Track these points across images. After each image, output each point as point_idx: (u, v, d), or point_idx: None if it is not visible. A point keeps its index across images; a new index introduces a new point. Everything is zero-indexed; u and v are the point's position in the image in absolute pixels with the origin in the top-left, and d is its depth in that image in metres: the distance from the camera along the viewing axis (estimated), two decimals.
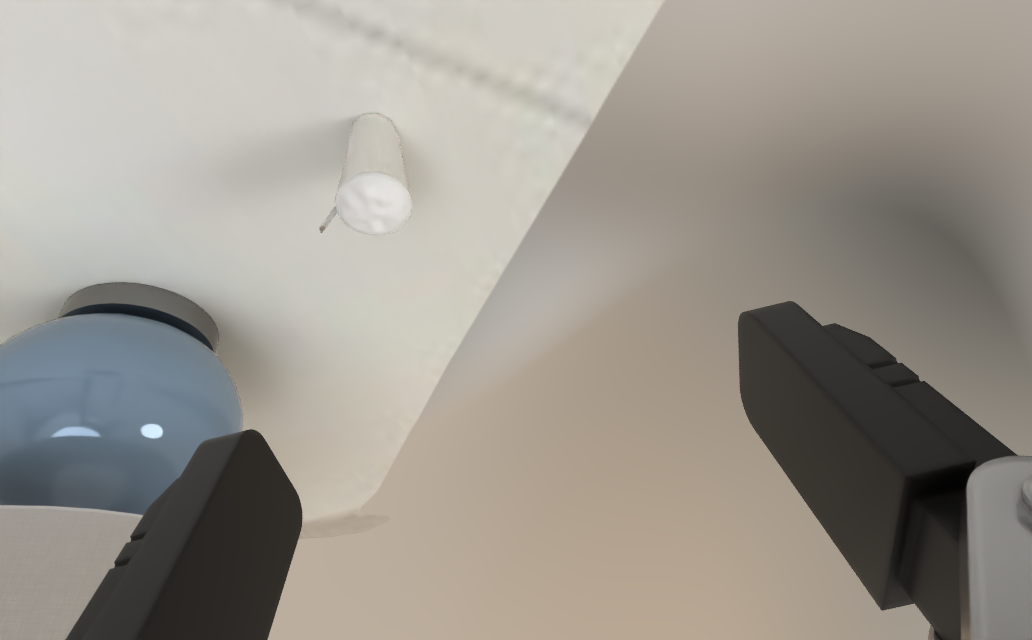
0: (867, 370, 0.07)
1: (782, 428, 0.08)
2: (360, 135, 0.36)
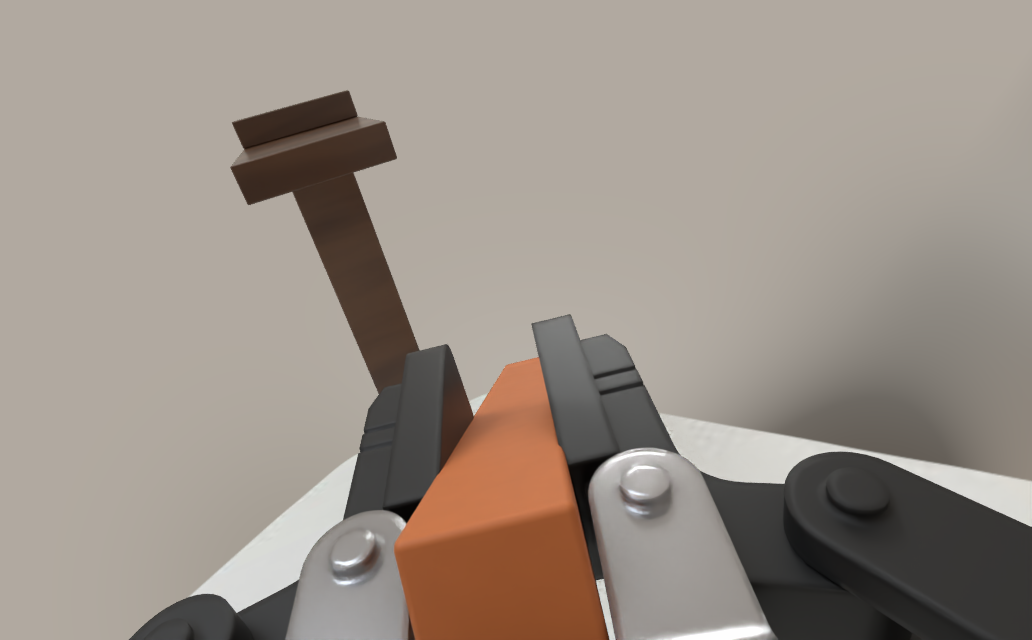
0: (588, 376, 0.08)
1: None
2: None
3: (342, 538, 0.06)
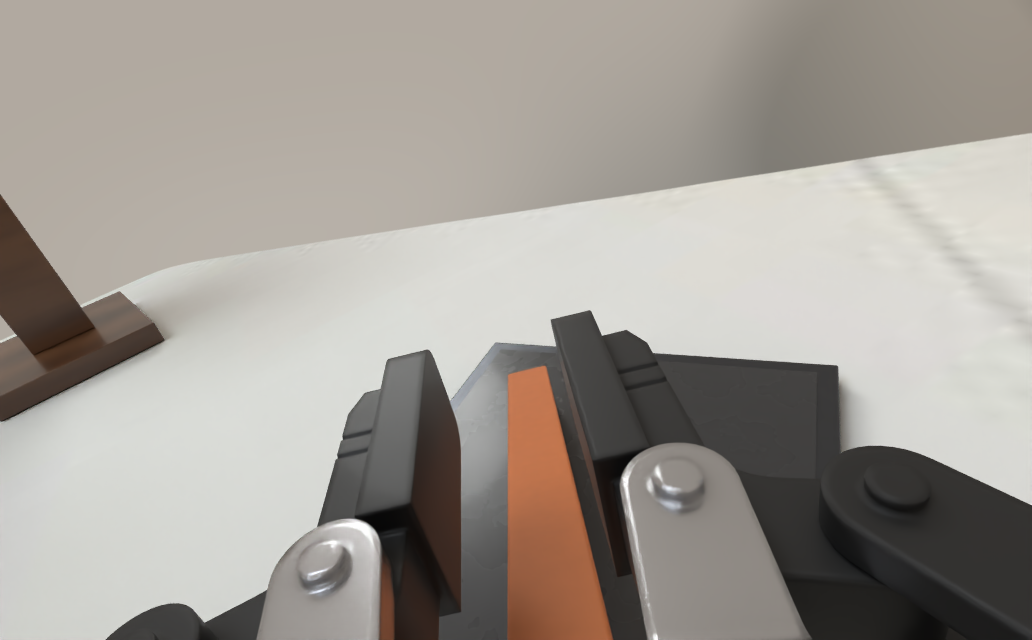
0: (612, 371, 0.08)
1: (576, 422, 0.09)
2: None
3: (311, 547, 0.06)
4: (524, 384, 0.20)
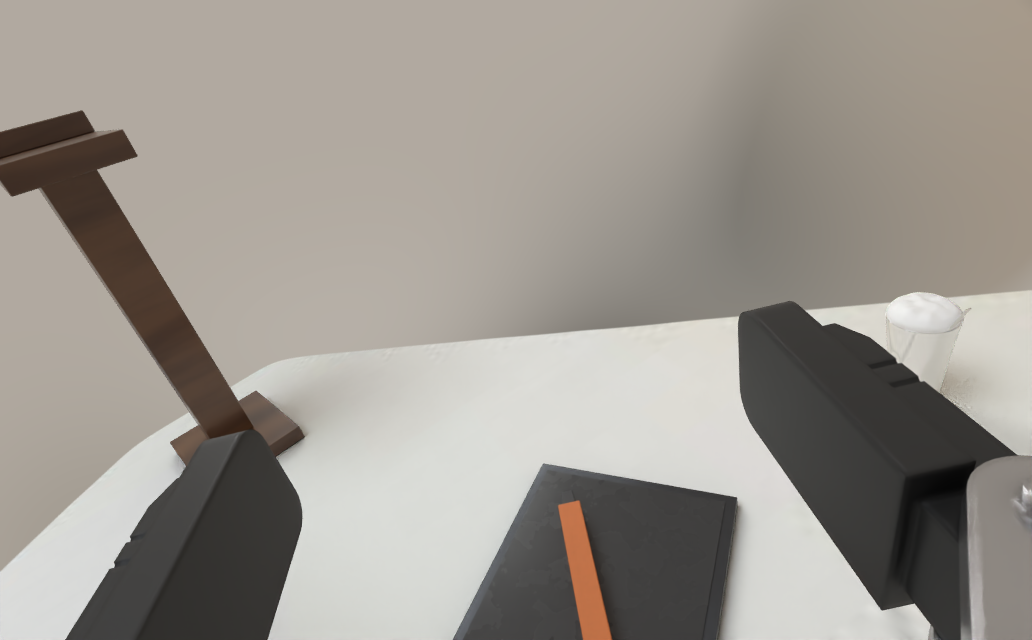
0: (867, 370, 0.07)
1: (782, 428, 0.08)
2: None
3: None
4: (571, 523, 0.38)
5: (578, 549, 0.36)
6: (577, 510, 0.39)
